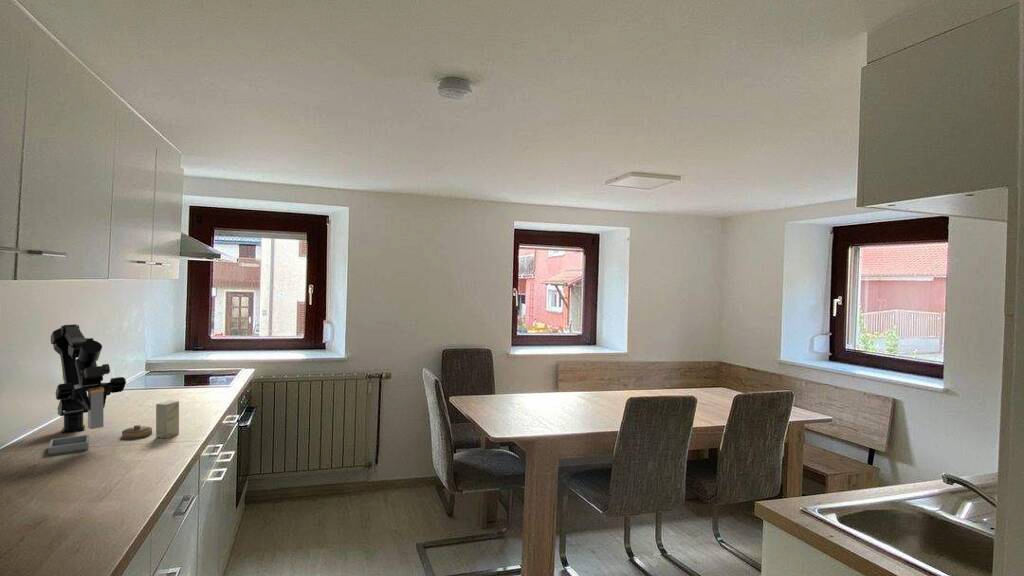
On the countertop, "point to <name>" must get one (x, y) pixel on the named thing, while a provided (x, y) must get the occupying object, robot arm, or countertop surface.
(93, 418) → the pin
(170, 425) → the skincare box
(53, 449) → the tray
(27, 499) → the countertop surface
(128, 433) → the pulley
